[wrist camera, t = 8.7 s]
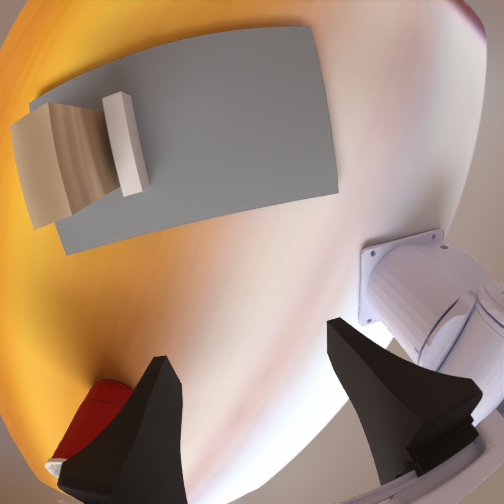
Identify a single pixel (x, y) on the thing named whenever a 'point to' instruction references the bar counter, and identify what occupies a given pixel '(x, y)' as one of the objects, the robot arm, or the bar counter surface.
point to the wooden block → (62, 160)
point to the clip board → (204, 131)
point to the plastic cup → (90, 420)
